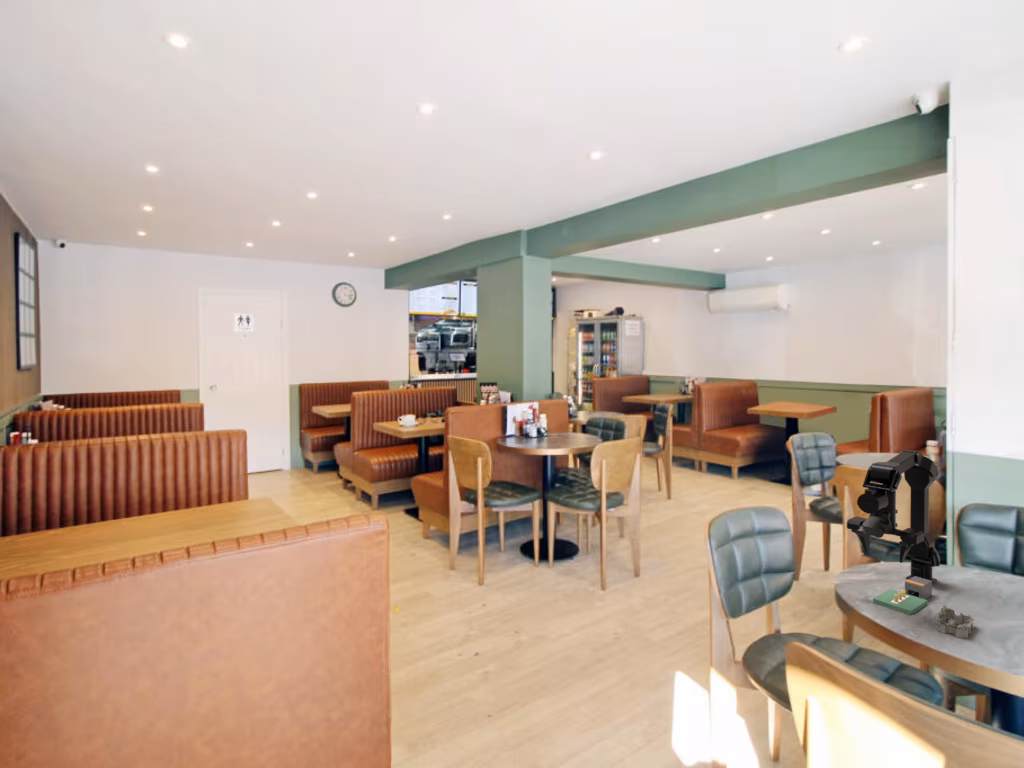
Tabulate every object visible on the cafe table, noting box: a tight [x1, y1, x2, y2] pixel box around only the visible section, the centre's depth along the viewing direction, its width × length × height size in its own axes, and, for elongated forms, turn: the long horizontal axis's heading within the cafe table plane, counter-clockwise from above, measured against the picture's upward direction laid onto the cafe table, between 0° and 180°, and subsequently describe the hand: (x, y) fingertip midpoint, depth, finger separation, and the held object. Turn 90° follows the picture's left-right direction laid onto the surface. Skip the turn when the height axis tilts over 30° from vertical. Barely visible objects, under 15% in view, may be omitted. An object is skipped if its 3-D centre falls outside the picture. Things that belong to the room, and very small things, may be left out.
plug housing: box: [904, 576, 933, 600], centre depth 170 cm, size 7×5×5 cm, turn 123°
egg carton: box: [934, 604, 976, 639], centre depth 151 cm, size 11×8×4 cm
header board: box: [872, 588, 928, 615], centre depth 166 cm, size 11×10×3 cm
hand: (883, 557), depth 165 cm, fingers open, 9 cm apart
